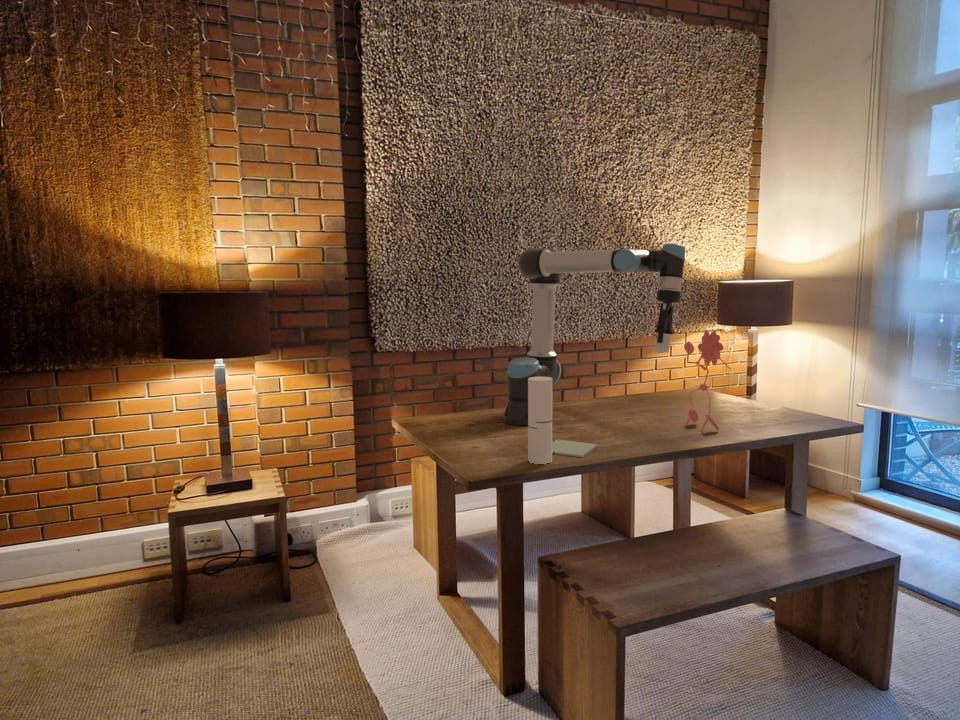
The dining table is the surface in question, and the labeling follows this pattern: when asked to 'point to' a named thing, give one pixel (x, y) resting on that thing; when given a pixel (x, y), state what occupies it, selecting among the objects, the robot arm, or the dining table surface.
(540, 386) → the cylindrical container
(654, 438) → the dining table surface
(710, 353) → the figurine
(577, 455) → the rubber mat
